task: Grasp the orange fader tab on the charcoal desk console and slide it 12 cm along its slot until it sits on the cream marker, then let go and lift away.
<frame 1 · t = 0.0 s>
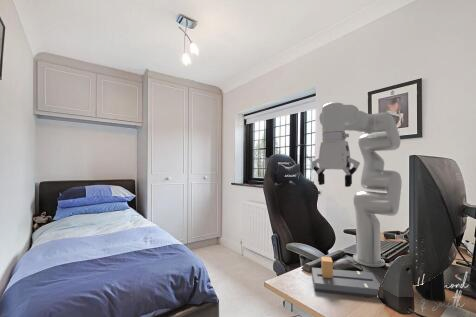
hand: (334, 185, 84), 37 cm above the table, tool pointing down, fingers open, 9 cm apart
portable radio: (430, 296, 79), on the table
fader tab: (326, 269, 88), point 5 cm above the table, slide at -6.0 cm
console: (344, 285, 86), on the table
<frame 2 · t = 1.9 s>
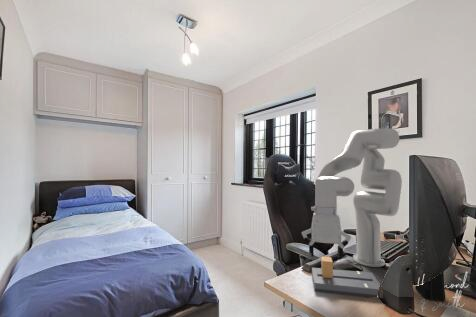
hand: (325, 256, 87), 10 cm above the table, tool pointing down, fingers open, 9 cm apart
nothing on the table moved.
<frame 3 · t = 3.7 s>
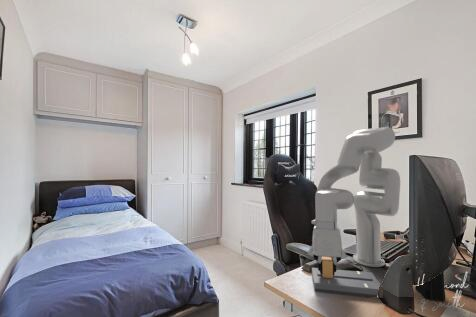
hand: (327, 272, 88), 4 cm above the table, tool pointing down, fingers closed on fader tab, 3 cm apart
fader tab: (326, 269, 88), point 5 cm above the table, slide at -6.0 cm, touching gripper
everything else where it was.
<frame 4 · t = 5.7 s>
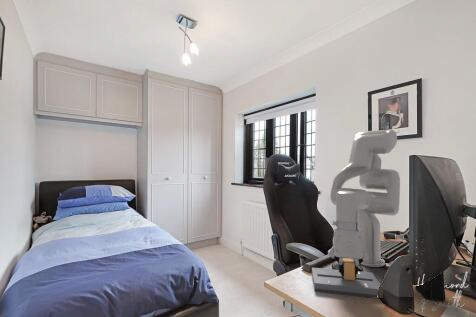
hand: (348, 274, 86), 4 cm above the table, tool pointing down, fingers closed on fader tab, 3 cm apart
fader tab: (348, 271, 86), point 5 cm above the table, slide at 1.4 cm, touching gripper
everything else where it was.
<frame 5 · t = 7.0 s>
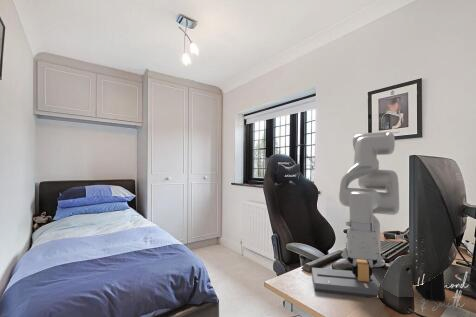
hand: (362, 275, 85), 4 cm above the table, tool pointing down, fingers closed on fader tab, 3 cm apart
fader tab: (361, 272, 85), point 5 cm above the table, slide at 6.0 cm, touching gripper
everything else where it was.
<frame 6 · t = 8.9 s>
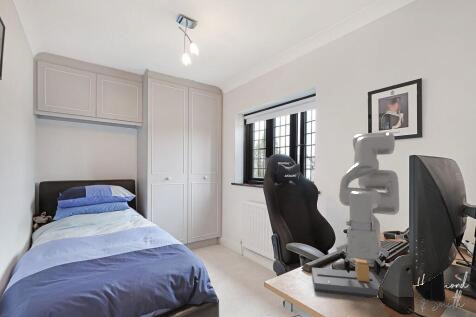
hand: (362, 272, 85), 5 cm above the table, tool pointing down, fingers open, 9 cm apart
fader tab: (361, 272, 85), point 5 cm above the table, slide at 6.0 cm
everything else where it was.
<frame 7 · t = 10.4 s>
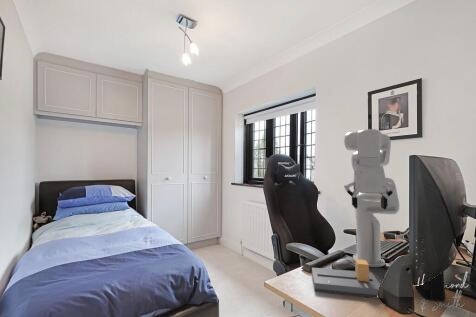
hand: (369, 208, 88), 28 cm above the table, tool pointing down, fingers open, 9 cm apart
nothing on the table moved.
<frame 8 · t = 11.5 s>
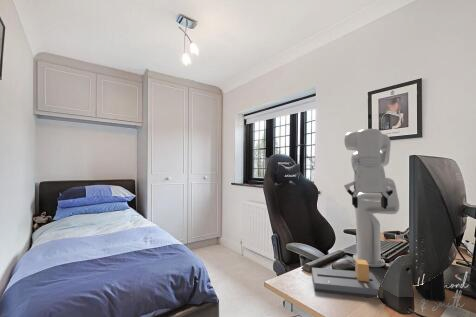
hand: (369, 207, 88), 28 cm above the table, tool pointing down, fingers open, 9 cm apart
nothing on the table moved.
at the end: fader tab slide at 6.0 cm; the gripper is holding nothing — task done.
